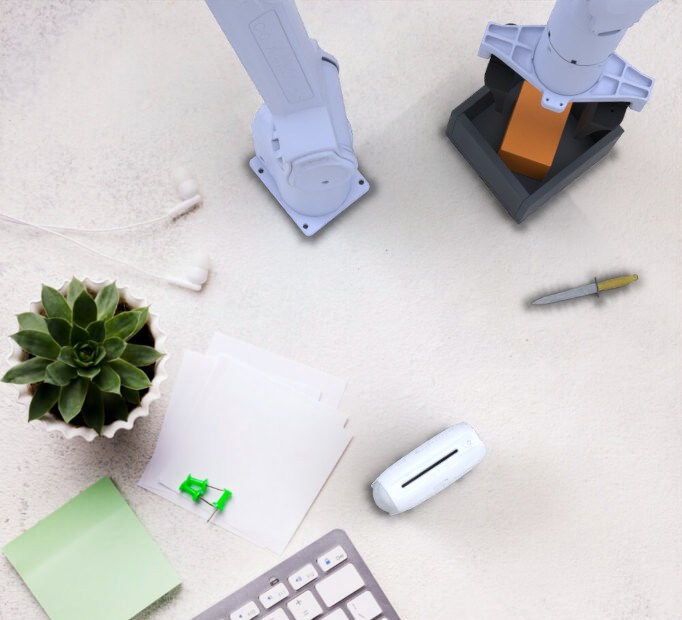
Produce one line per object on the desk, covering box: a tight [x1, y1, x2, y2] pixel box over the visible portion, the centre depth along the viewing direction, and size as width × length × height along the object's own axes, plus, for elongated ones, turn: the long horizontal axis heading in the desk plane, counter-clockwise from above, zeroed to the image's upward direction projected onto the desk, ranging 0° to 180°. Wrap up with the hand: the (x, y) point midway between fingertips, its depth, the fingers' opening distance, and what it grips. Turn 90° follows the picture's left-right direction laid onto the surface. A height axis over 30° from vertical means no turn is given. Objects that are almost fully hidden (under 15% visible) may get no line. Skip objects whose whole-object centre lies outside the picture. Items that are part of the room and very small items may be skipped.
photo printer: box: [370, 421, 487, 516], centre depth 78 cm, size 10×4×12 cm, turn 123°
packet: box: [497, 81, 573, 181], centre depth 82 cm, size 5×7×4 cm
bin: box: [445, 72, 625, 225], centre depth 82 cm, size 12×12×5 cm
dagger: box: [531, 273, 639, 305], centre depth 84 cm, size 11×1×2 cm
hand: (540, 115), depth 79 cm, fingers open, 7 cm apart
